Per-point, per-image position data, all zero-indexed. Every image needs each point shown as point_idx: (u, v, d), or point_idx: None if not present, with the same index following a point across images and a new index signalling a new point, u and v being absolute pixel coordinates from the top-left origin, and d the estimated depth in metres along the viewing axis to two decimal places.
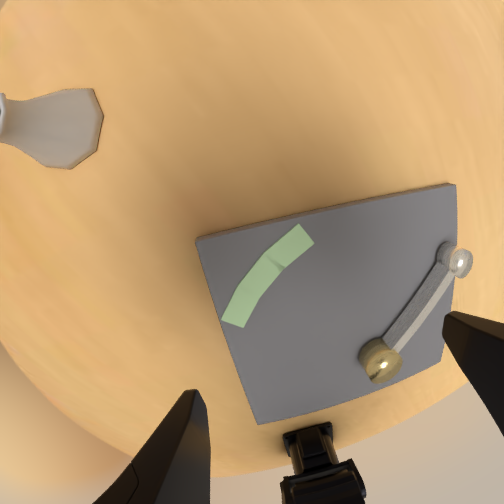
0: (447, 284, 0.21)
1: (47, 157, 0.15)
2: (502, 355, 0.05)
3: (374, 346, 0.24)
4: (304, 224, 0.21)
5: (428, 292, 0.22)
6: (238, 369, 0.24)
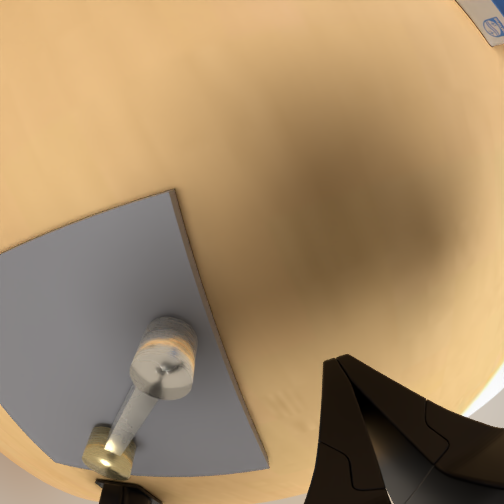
0: (152, 398, 0.11)
1: None
2: (381, 424, 0.05)
3: (93, 434, 0.14)
4: None
5: (128, 398, 0.12)
6: (2, 406, 0.15)
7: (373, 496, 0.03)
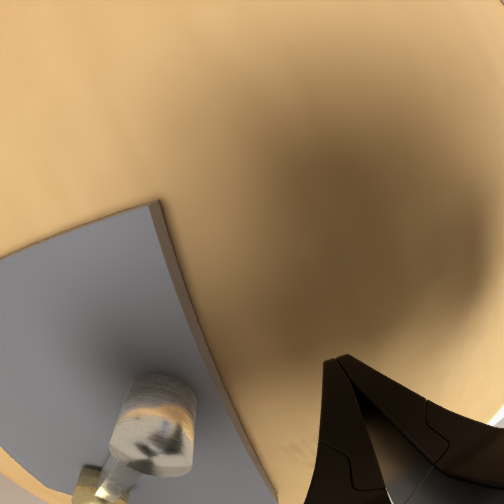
0: None
1: None
2: (381, 424, 0.05)
3: (82, 477, 0.10)
4: None
5: (115, 457, 0.08)
6: None
7: (373, 496, 0.03)
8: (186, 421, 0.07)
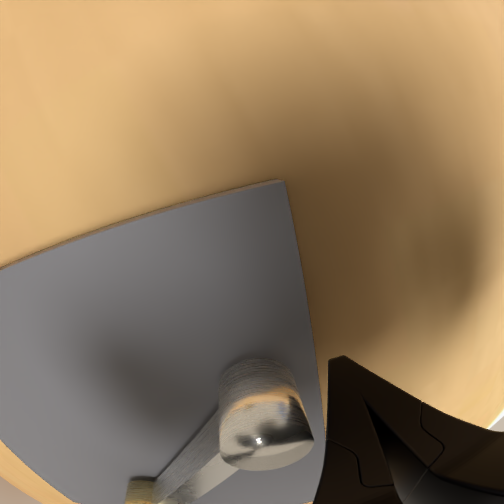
0: None
1: None
2: (376, 427, 0.05)
3: (132, 490, 0.10)
4: None
5: (193, 462, 0.08)
6: (8, 447, 0.11)
7: (382, 492, 0.03)
8: (300, 401, 0.07)
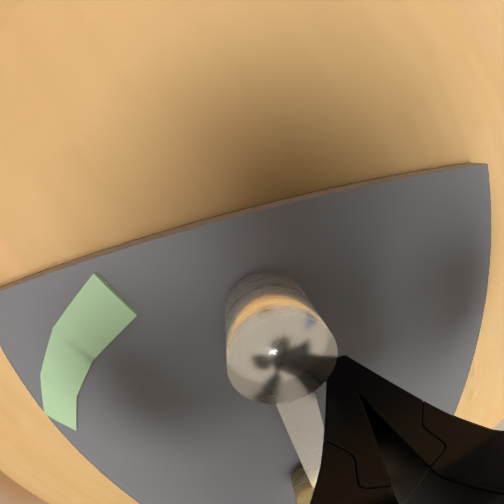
0: (308, 398, 0.07)
1: None
2: (378, 426, 0.05)
3: (294, 485, 0.11)
4: (108, 274, 0.08)
5: None
6: (101, 471, 0.11)
7: (379, 493, 0.03)
8: (288, 293, 0.07)
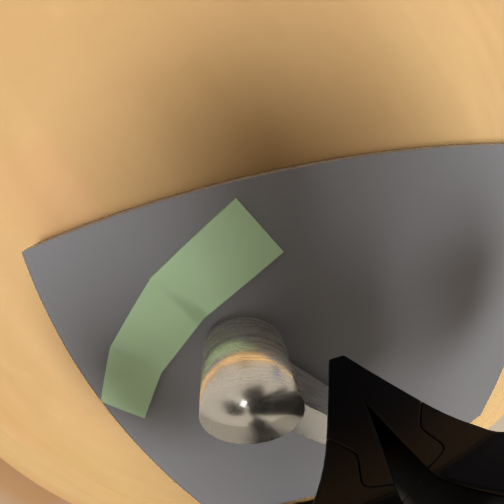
0: (313, 416, 0.07)
1: None
2: (376, 427, 0.05)
3: None
4: (253, 201, 0.08)
5: None
6: (159, 464, 0.11)
7: (382, 492, 0.03)
8: (233, 349, 0.07)
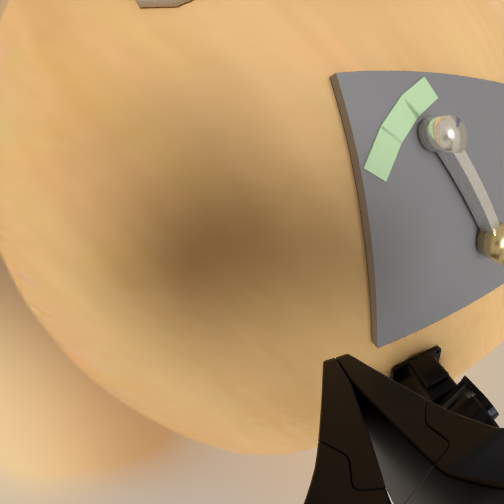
0: (465, 156, 0.15)
1: None
2: (381, 424, 0.05)
3: (483, 246, 0.19)
4: (427, 79, 0.15)
5: (464, 180, 0.16)
6: (374, 248, 0.19)
7: (374, 496, 0.03)
8: None
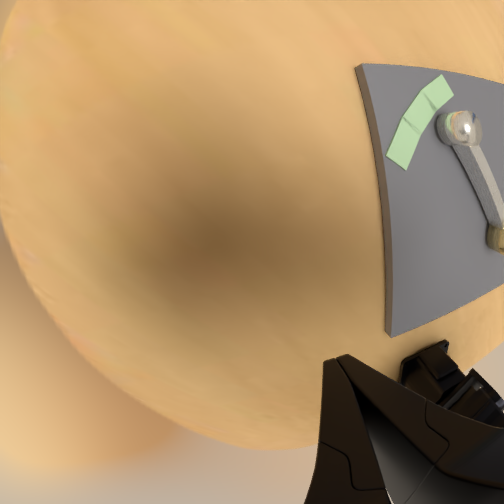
0: (479, 150, 0.15)
1: None
2: (381, 425, 0.05)
3: (492, 240, 0.18)
4: (444, 77, 0.15)
5: (477, 174, 0.16)
6: (393, 235, 0.19)
7: (373, 496, 0.03)
8: None
